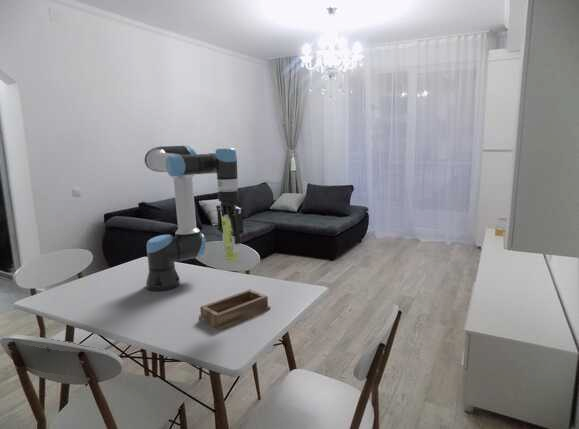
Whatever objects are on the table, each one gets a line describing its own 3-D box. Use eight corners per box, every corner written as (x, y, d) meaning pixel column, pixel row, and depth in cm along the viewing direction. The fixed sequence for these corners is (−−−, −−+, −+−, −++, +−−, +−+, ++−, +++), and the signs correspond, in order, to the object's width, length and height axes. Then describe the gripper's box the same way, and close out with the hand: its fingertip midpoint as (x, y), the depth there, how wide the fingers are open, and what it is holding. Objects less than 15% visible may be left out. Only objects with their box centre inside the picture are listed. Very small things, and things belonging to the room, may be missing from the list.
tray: (199, 318, 150) (198, 305, 149) (248, 299, 167) (247, 288, 166) (220, 330, 141) (219, 317, 140) (270, 309, 157) (269, 297, 156)
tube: (225, 264, 147) (222, 213, 144) (223, 260, 152) (220, 210, 149) (240, 262, 149) (237, 211, 146) (238, 258, 154) (235, 209, 150)
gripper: (205, 189, 150) (209, 248, 154) (235, 193, 137) (238, 257, 141) (222, 187, 155) (225, 244, 159) (251, 190, 142) (254, 252, 146)
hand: (231, 250), depth 150 cm, fingers closed on tube, 6 cm apart
